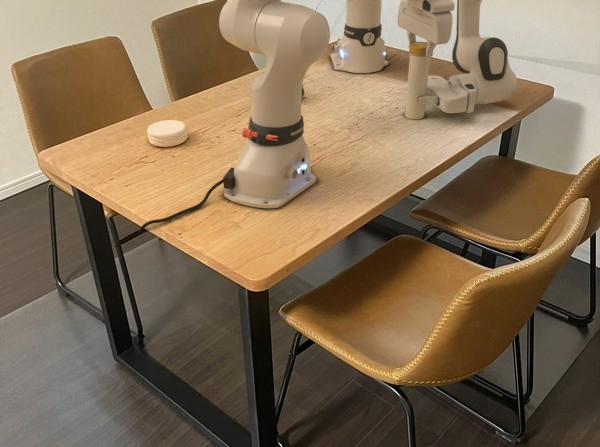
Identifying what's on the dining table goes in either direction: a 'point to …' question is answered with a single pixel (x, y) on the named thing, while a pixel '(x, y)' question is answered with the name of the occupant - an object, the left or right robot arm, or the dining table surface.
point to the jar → (416, 85)
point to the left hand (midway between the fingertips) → (420, 52)
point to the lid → (418, 48)
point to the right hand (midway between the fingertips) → (413, 96)
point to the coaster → (167, 133)
